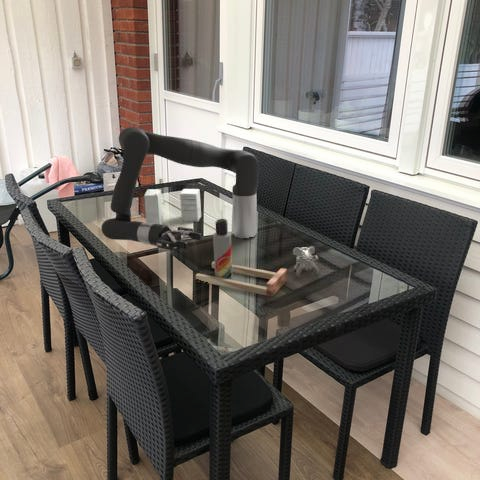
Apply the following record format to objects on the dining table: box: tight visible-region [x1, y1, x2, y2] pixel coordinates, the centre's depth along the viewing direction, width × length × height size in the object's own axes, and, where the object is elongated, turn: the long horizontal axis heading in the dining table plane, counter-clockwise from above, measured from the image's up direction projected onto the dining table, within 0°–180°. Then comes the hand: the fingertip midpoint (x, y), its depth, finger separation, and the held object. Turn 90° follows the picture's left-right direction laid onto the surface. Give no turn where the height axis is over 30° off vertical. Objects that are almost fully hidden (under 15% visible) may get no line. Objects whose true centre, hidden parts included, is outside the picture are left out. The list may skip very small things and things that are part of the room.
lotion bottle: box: [212, 218, 233, 280], centre depth 163 cm, size 6×6×20 cm
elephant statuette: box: [292, 246, 320, 276], centre depth 169 cm, size 9×12×8 cm
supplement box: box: [179, 188, 202, 223], centre depth 218 cm, size 7×7×13 cm
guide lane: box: [195, 260, 288, 297], centre depth 163 cm, size 12×27×4 cm, turn 64°
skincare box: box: [143, 188, 164, 225], centre depth 212 cm, size 8×6×15 cm
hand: (194, 241), depth 167 cm, fingers open, 8 cm apart
